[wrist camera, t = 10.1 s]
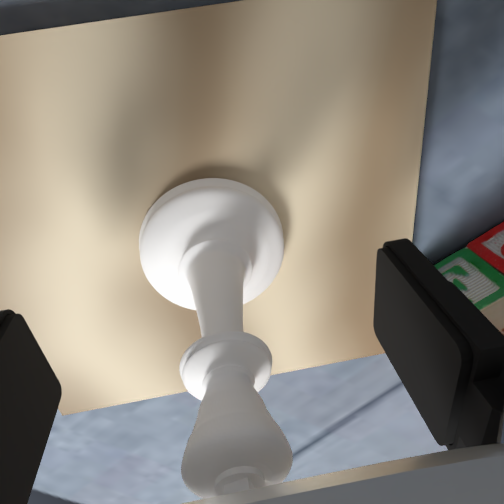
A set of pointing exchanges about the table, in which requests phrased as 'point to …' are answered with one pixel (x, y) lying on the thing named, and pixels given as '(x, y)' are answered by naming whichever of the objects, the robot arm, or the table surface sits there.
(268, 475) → the chess piece
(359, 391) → the table surface
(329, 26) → the birch board
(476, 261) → the stack of blocks
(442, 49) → the table surface
